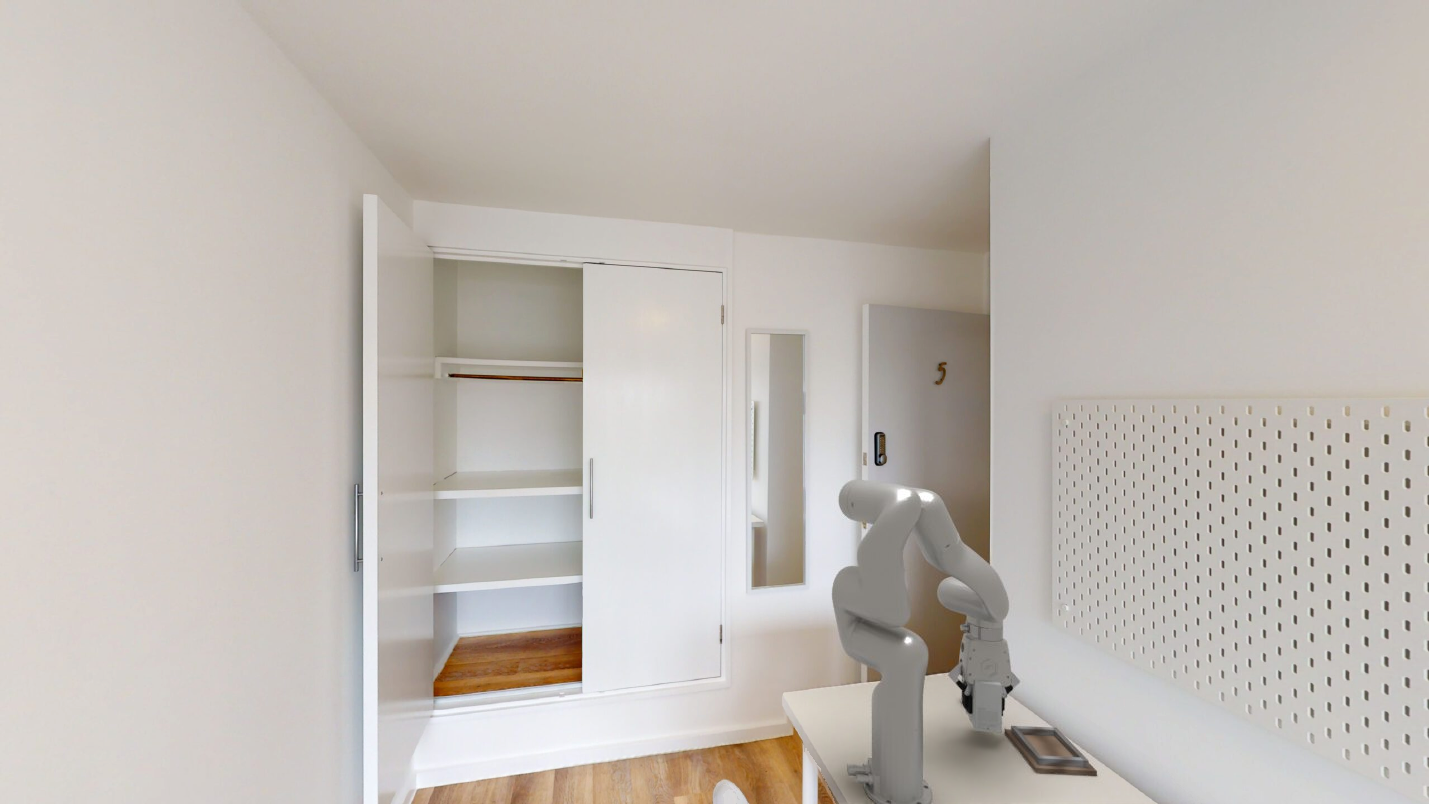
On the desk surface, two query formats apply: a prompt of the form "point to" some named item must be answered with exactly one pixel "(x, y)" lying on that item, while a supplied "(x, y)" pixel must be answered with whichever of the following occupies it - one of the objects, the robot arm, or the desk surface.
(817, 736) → the desk surface
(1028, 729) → the brown flat frame
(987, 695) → the small box
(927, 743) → the desk surface
